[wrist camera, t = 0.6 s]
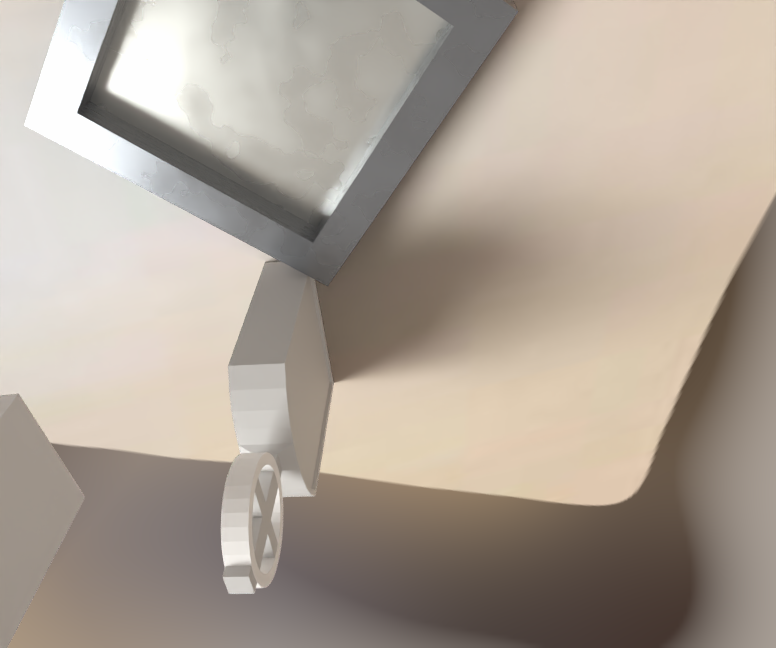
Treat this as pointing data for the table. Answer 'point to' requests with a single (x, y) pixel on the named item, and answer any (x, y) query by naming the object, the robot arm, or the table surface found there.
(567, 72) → the table surface
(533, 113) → the table surface
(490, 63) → the table surface
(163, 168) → the square metal tray
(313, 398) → the gravestone
